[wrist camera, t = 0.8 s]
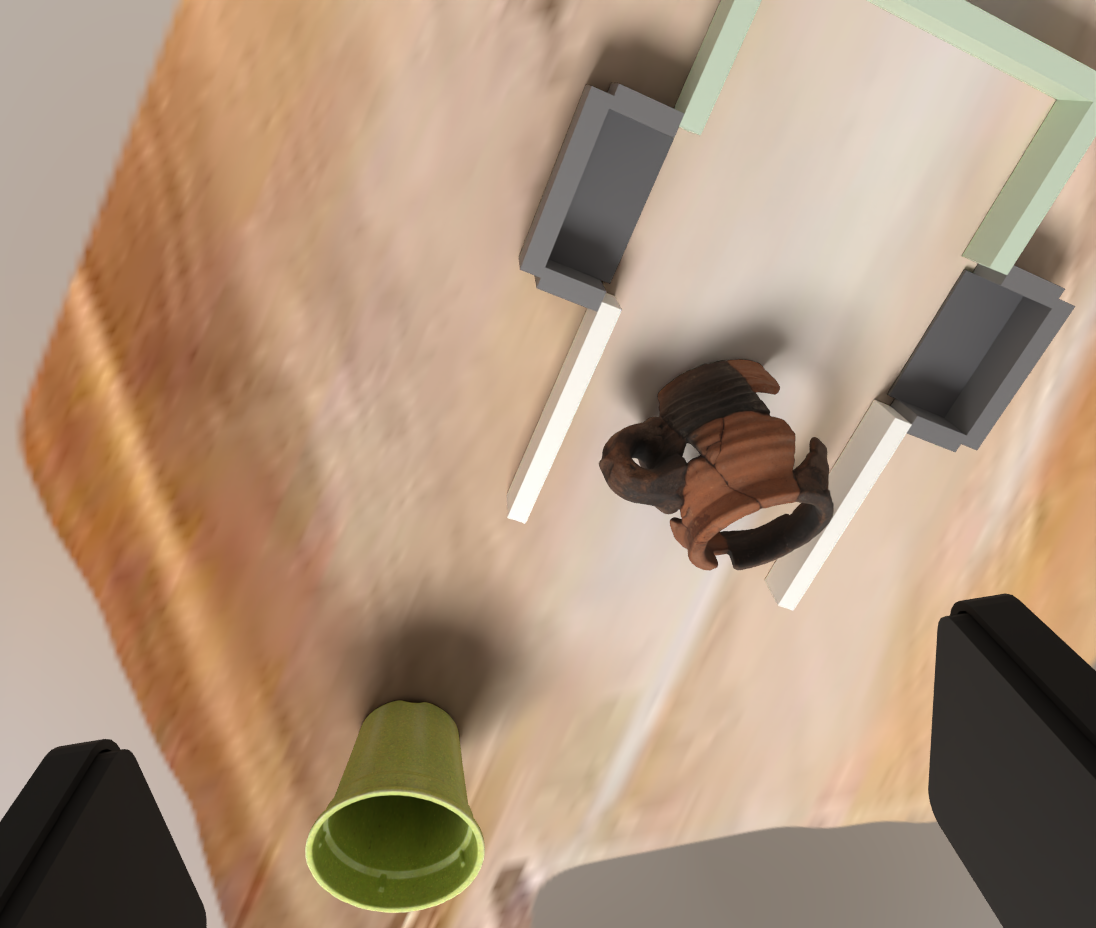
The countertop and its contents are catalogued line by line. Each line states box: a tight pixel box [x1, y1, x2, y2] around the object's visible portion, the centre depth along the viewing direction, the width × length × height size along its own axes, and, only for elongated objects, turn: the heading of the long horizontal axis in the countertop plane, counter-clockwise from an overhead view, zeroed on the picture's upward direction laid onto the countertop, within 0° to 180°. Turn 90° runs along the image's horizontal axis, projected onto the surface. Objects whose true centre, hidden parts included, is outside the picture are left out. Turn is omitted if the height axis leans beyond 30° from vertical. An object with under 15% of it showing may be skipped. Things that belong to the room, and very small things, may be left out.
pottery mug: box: [599, 359, 834, 570], centre depth 41 cm, size 12×10×8 cm
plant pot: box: [305, 700, 485, 913], centre depth 47 cm, size 9×9×9 cm
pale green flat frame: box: [507, 0, 1096, 610], centre depth 39 cm, size 28×25×2 cm
